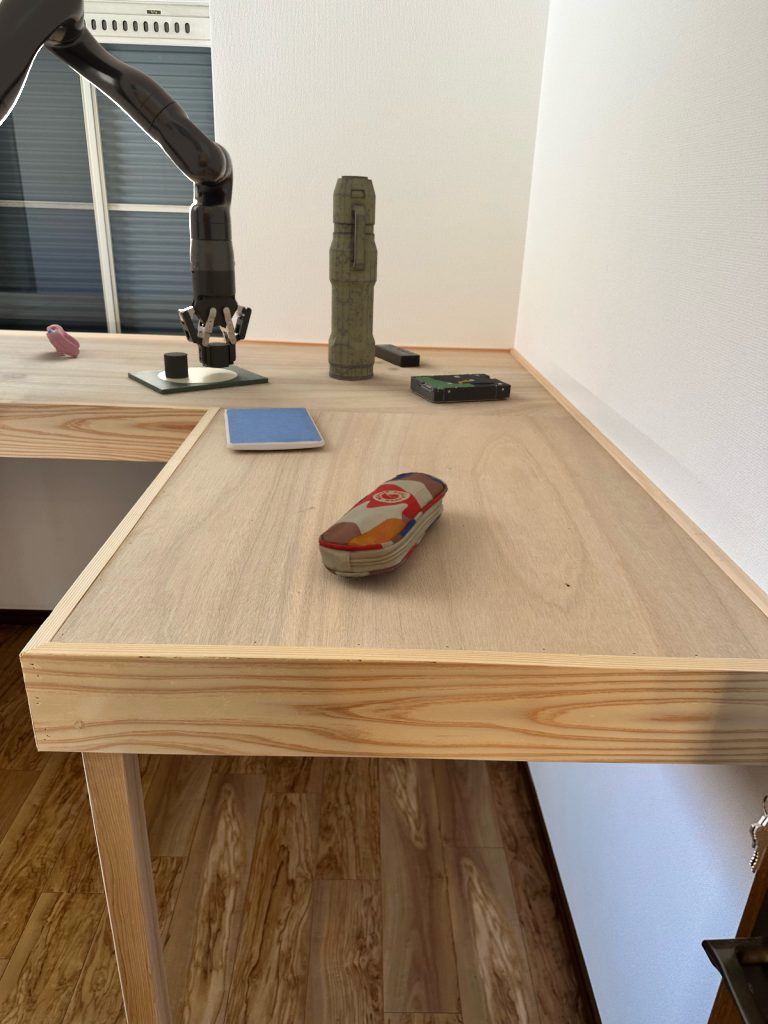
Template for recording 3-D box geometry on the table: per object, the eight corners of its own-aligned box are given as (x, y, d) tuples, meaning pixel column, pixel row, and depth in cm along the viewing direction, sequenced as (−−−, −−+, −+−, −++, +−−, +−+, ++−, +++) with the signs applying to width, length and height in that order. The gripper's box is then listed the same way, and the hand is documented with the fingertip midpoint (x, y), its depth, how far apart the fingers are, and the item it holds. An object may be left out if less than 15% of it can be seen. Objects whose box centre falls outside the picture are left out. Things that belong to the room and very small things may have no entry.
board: (161, 394, 121) (161, 388, 120) (128, 376, 132) (127, 372, 132) (268, 382, 132) (268, 377, 132) (228, 367, 144) (228, 362, 143)
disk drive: (482, 388, 135) (408, 390, 130) (483, 373, 134) (409, 374, 129) (510, 400, 126) (433, 404, 121) (512, 384, 125) (434, 387, 120)
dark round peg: (170, 379, 127) (169, 356, 126) (161, 375, 130) (160, 353, 128) (192, 377, 129) (190, 354, 128) (183, 373, 132) (181, 351, 131)
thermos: (338, 382, 134) (341, 173, 121) (320, 370, 144) (321, 176, 131) (383, 380, 137) (390, 176, 124) (362, 369, 147) (367, 179, 134)
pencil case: (275, 563, 63) (273, 510, 61) (397, 500, 79) (399, 456, 77) (379, 600, 58) (381, 543, 56) (489, 525, 73) (493, 478, 71)
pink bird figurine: (62, 356, 156) (42, 327, 153) (81, 346, 157) (62, 316, 153) (61, 364, 148) (39, 333, 144) (81, 354, 148) (60, 323, 145)
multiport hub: (401, 367, 150) (401, 355, 150) (372, 355, 162) (373, 344, 162) (420, 366, 152) (420, 355, 151) (390, 354, 164) (391, 344, 163)
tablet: (224, 415, 109) (223, 407, 109) (307, 413, 112) (307, 405, 111) (227, 454, 92) (226, 444, 91) (326, 451, 94) (326, 441, 94)
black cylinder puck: (212, 368, 131) (211, 346, 130) (203, 365, 134) (202, 343, 133) (233, 367, 134) (232, 344, 132) (223, 363, 136) (222, 341, 135)
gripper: (239, 265, 134) (243, 358, 141) (165, 266, 126) (172, 365, 132) (259, 268, 129) (262, 365, 135) (183, 269, 121) (189, 372, 127)
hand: (217, 364), depth 134 cm, fingers closed on black cylinder puck, 4 cm apart
